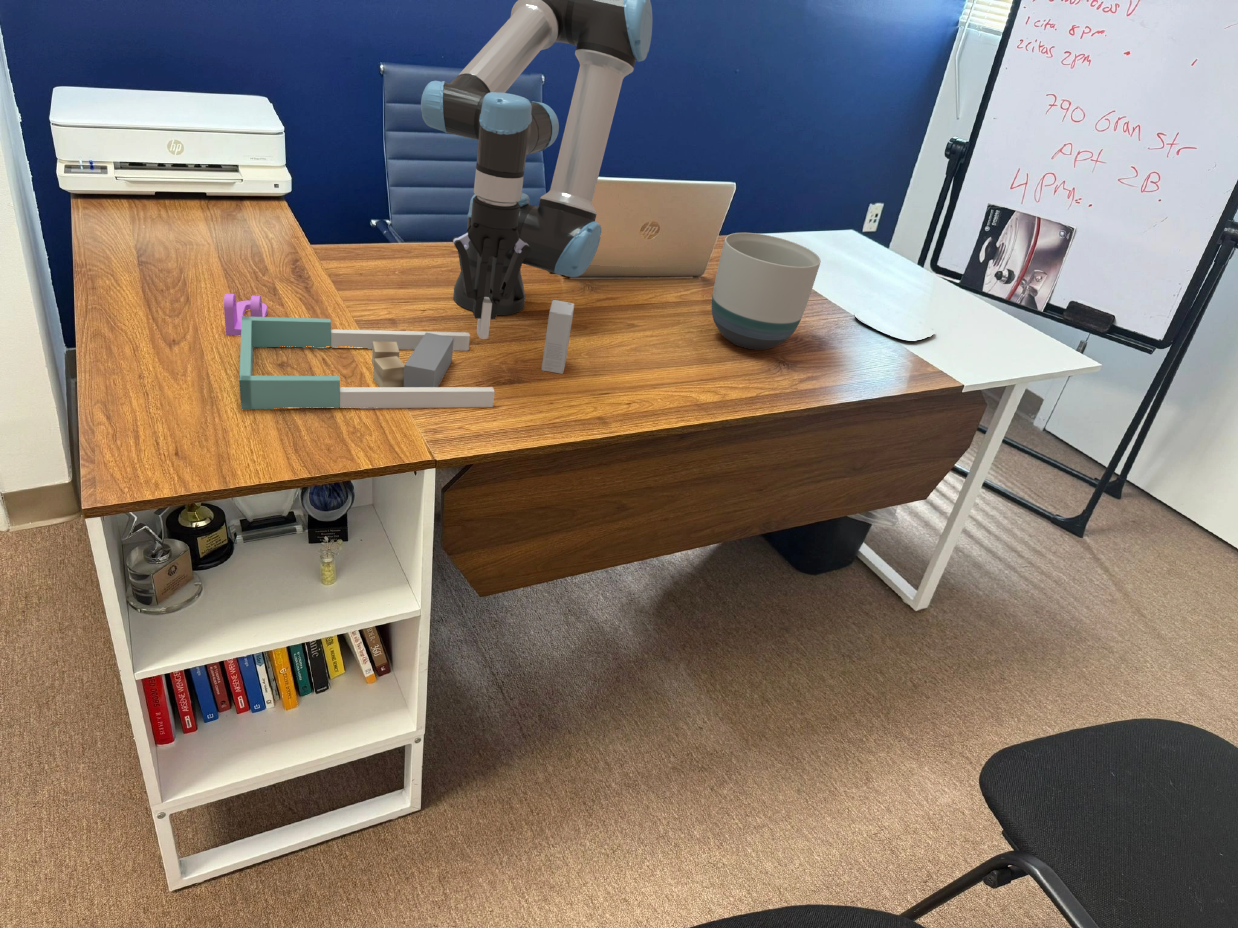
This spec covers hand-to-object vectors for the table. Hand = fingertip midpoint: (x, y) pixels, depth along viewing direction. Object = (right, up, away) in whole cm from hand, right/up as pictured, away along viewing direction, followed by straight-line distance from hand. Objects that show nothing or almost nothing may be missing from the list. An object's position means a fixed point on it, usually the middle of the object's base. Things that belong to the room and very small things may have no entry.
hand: (482, 335), depth 146 cm
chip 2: (-15, -9, -4) cm, 18 cm away
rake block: (-10, -7, +1) cm, 12 cm away
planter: (+52, +4, +40) cm, 66 cm away
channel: (-12, -7, 0) cm, 14 cm away
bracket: (-44, +3, +7) cm, 44 cm away
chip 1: (-17, -5, +1) cm, 18 cm away
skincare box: (+11, -4, +13) cm, 18 cm away
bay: (-30, -8, -7) cm, 32 cm away
